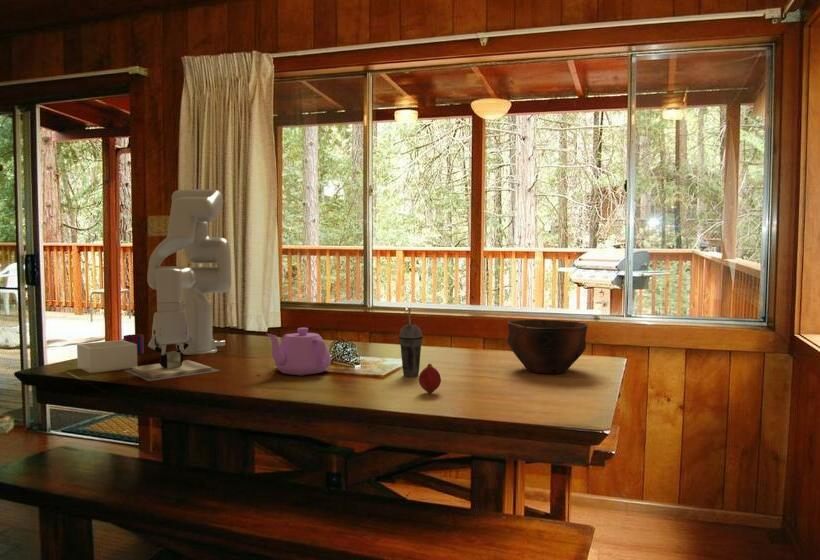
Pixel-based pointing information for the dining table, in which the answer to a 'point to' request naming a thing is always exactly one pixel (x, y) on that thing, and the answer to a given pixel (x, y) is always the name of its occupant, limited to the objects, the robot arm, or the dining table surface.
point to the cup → (136, 342)
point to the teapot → (300, 353)
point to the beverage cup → (410, 348)
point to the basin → (106, 356)
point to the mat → (164, 377)
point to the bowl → (547, 343)
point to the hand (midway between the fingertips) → (171, 365)
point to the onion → (429, 379)
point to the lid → (171, 367)
